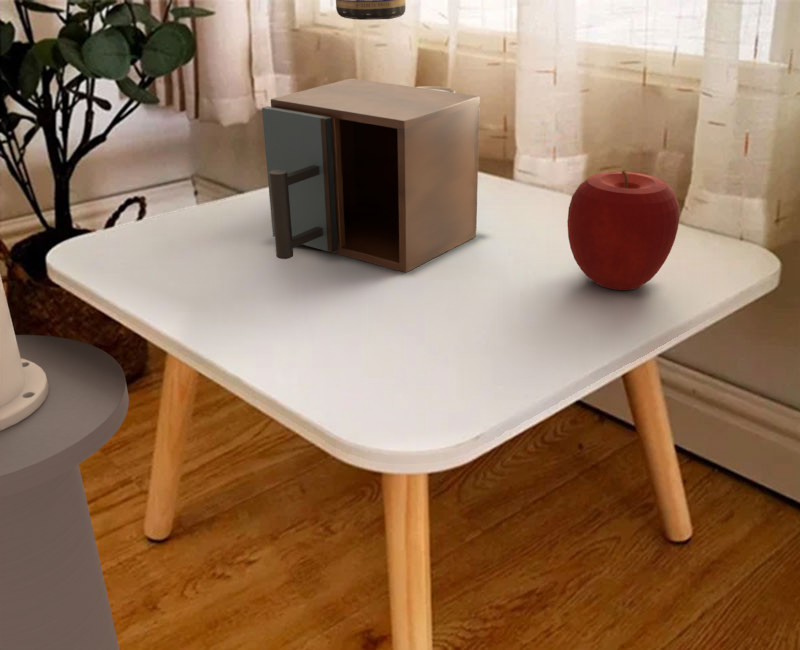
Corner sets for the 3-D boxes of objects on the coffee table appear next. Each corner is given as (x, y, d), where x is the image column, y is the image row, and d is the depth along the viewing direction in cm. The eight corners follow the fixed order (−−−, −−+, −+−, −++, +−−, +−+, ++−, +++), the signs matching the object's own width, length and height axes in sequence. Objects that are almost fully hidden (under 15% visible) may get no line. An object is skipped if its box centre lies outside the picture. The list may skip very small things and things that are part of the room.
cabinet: (406, 272, 88) (404, 120, 81) (281, 239, 97) (270, 99, 90) (476, 236, 96) (480, 96, 89) (355, 208, 105) (350, 78, 98)
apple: (692, 293, 83) (708, 182, 78) (596, 310, 80) (608, 196, 75) (632, 257, 91) (644, 154, 86) (543, 272, 88) (550, 165, 83)
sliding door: (291, 271, 87) (280, 131, 81) (231, 253, 91) (216, 119, 85) (338, 250, 92) (331, 116, 85) (278, 234, 96) (267, 106, 90)
